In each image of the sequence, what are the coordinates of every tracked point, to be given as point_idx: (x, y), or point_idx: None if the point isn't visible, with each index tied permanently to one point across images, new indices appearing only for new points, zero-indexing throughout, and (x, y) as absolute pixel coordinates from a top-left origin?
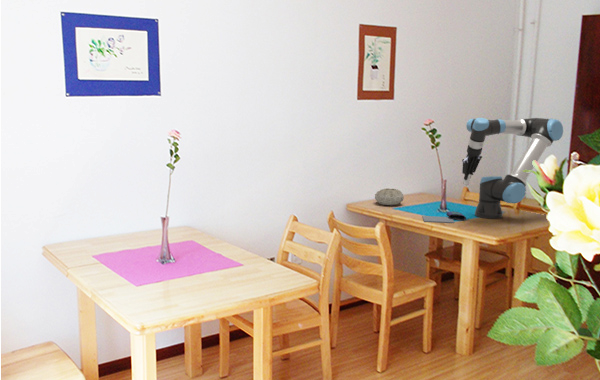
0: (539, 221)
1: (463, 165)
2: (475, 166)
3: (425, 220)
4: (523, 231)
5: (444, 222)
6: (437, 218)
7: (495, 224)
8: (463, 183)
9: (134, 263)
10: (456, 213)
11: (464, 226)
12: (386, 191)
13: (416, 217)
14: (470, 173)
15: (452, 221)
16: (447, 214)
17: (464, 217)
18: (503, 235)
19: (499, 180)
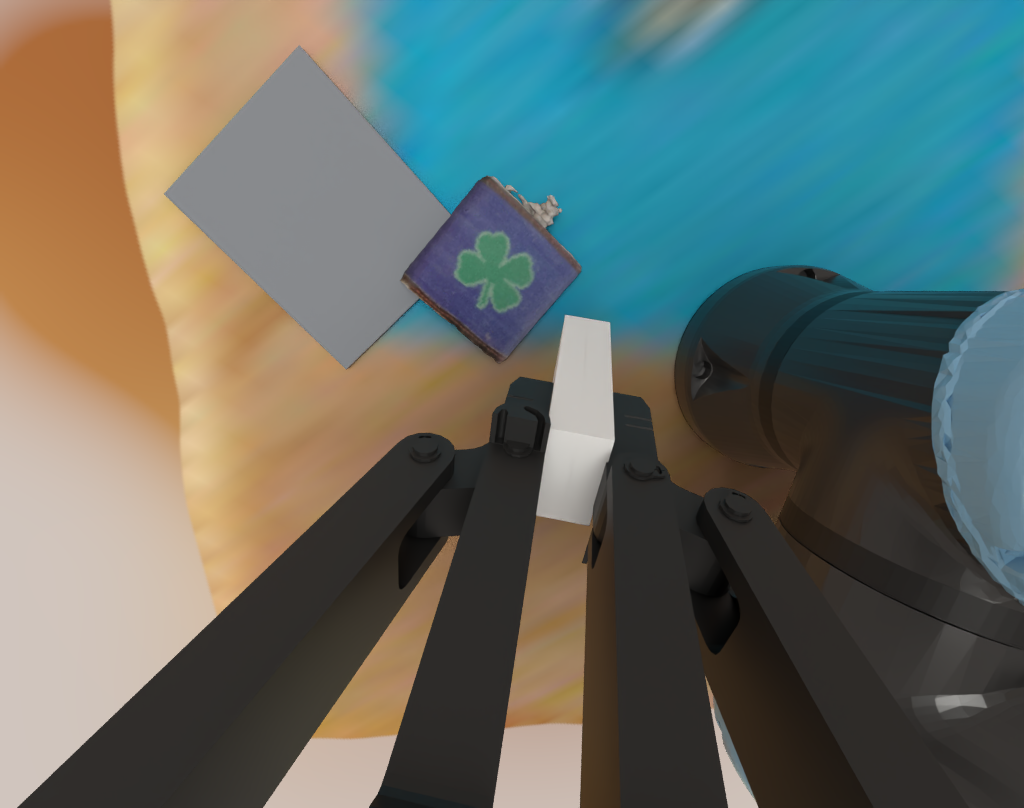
0: None
1: (167, 699)
2: (739, 737)
3: (183, 191)
4: (529, 717)
5: (292, 315)
6: (333, 204)
7: (561, 540)
8: (563, 325)
9: None
10: (483, 282)
11: (332, 465)
12: None
13: (238, 28)
14: (593, 526)
15: (352, 345)
16: (453, 212)
17: (534, 324)
18: (345, 713)
19: (986, 657)
